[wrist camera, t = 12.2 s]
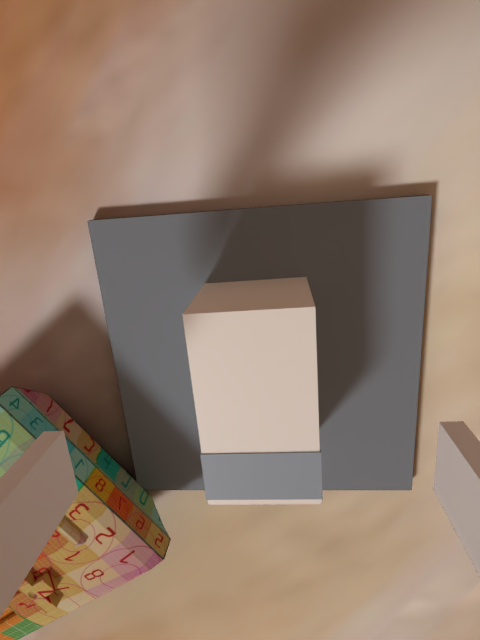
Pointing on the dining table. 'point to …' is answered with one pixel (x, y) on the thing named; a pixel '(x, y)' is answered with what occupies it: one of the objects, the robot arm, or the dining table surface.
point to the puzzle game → (77, 520)
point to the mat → (331, 325)
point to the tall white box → (256, 391)
